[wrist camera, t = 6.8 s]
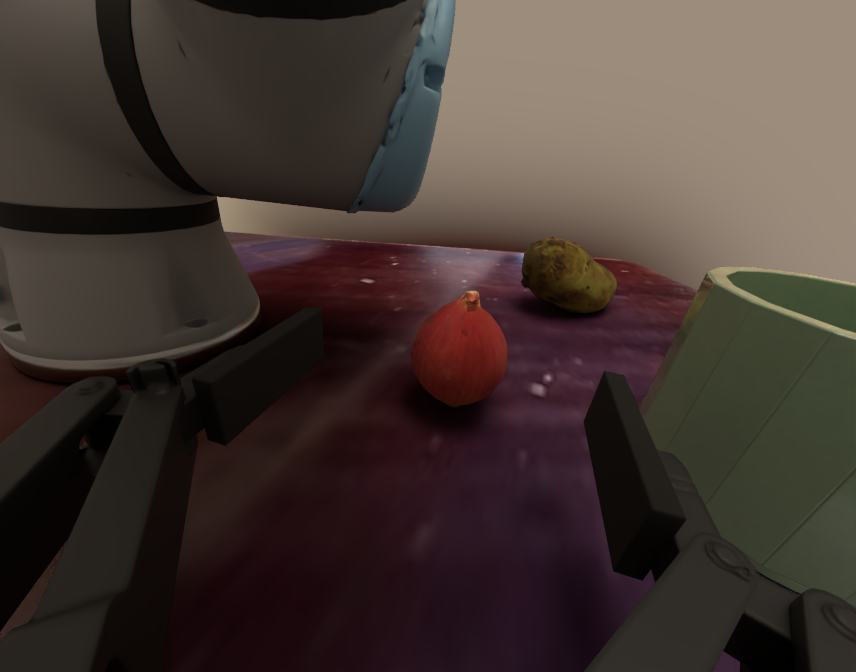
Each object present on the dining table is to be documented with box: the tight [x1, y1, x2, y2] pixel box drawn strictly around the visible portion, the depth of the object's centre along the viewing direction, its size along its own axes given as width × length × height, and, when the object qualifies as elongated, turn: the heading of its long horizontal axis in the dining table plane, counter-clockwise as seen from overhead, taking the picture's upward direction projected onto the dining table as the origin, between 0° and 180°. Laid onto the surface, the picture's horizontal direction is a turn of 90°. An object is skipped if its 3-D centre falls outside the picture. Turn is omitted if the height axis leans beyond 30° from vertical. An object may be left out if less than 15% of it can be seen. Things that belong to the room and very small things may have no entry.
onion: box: [411, 291, 507, 407], centre depth 21 cm, size 6×6×8 cm
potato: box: [521, 237, 617, 313], centre depth 38 cm, size 8×13×8 cm, turn 95°
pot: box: [639, 267, 856, 608], centre depth 17 cm, size 13×13×10 cm
